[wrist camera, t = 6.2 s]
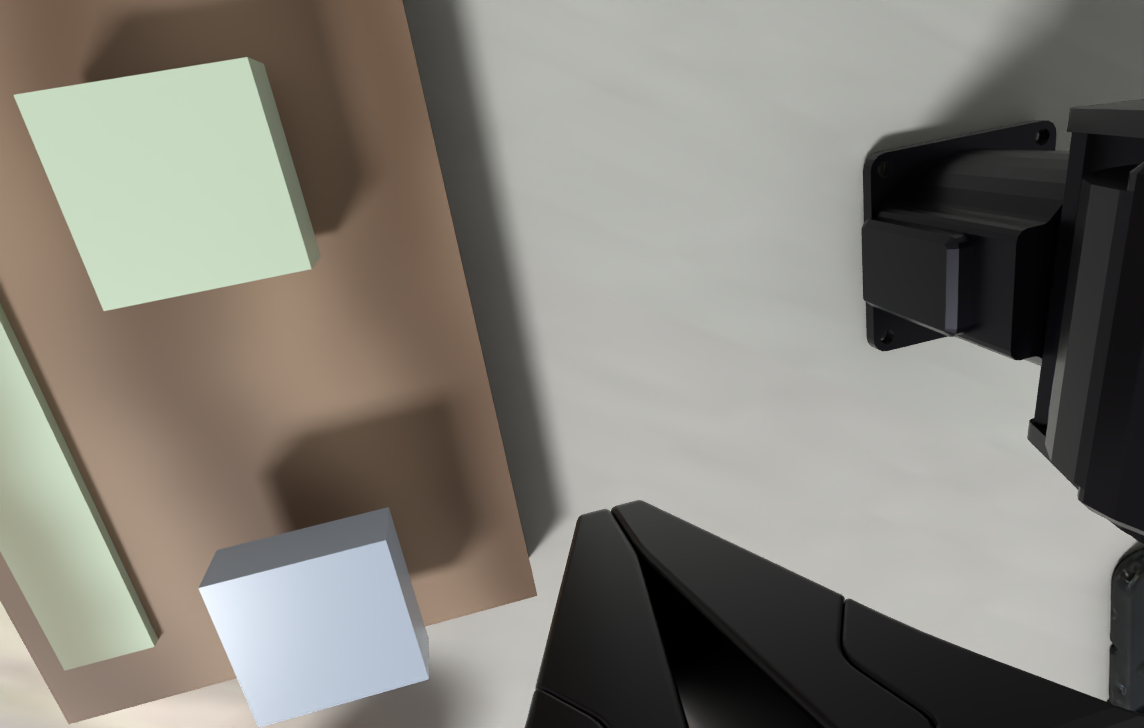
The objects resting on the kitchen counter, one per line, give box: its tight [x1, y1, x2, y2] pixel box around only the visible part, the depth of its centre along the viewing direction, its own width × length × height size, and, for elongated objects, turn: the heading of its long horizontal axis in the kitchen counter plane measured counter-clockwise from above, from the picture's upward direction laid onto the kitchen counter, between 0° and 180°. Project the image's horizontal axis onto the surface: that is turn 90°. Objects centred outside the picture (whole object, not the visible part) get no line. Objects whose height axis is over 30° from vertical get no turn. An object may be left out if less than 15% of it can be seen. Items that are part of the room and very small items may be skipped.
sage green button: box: [14, 57, 321, 311], centre depth 15 cm, size 4×4×2 cm
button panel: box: [0, 0, 537, 724], centre depth 17 cm, size 14×28×2 cm, turn 10°
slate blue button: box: [198, 507, 429, 728], centre depth 18 cm, size 4×4×2 cm
